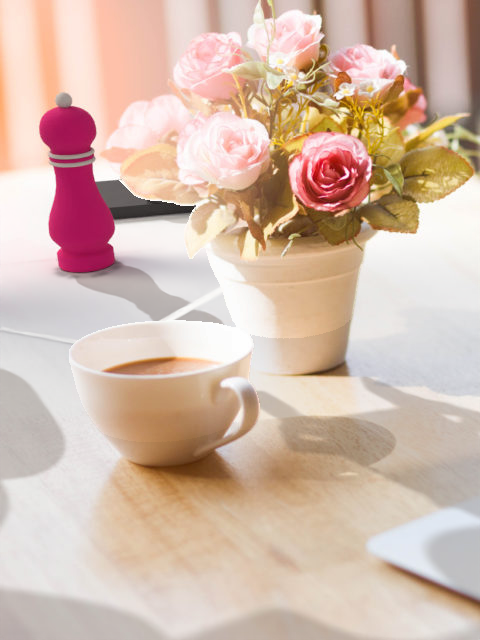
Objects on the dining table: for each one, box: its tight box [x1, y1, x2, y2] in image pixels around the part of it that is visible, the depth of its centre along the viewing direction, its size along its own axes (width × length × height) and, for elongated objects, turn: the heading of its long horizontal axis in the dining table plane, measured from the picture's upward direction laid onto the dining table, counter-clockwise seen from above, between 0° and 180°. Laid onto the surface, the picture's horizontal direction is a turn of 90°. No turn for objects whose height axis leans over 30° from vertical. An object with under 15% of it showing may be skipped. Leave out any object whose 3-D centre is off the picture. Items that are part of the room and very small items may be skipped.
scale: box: [95, 179, 196, 221], centre depth 160 cm, size 16×14×4 cm
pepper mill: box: [38, 91, 116, 273], centre depth 134 cm, size 7×7×20 cm
